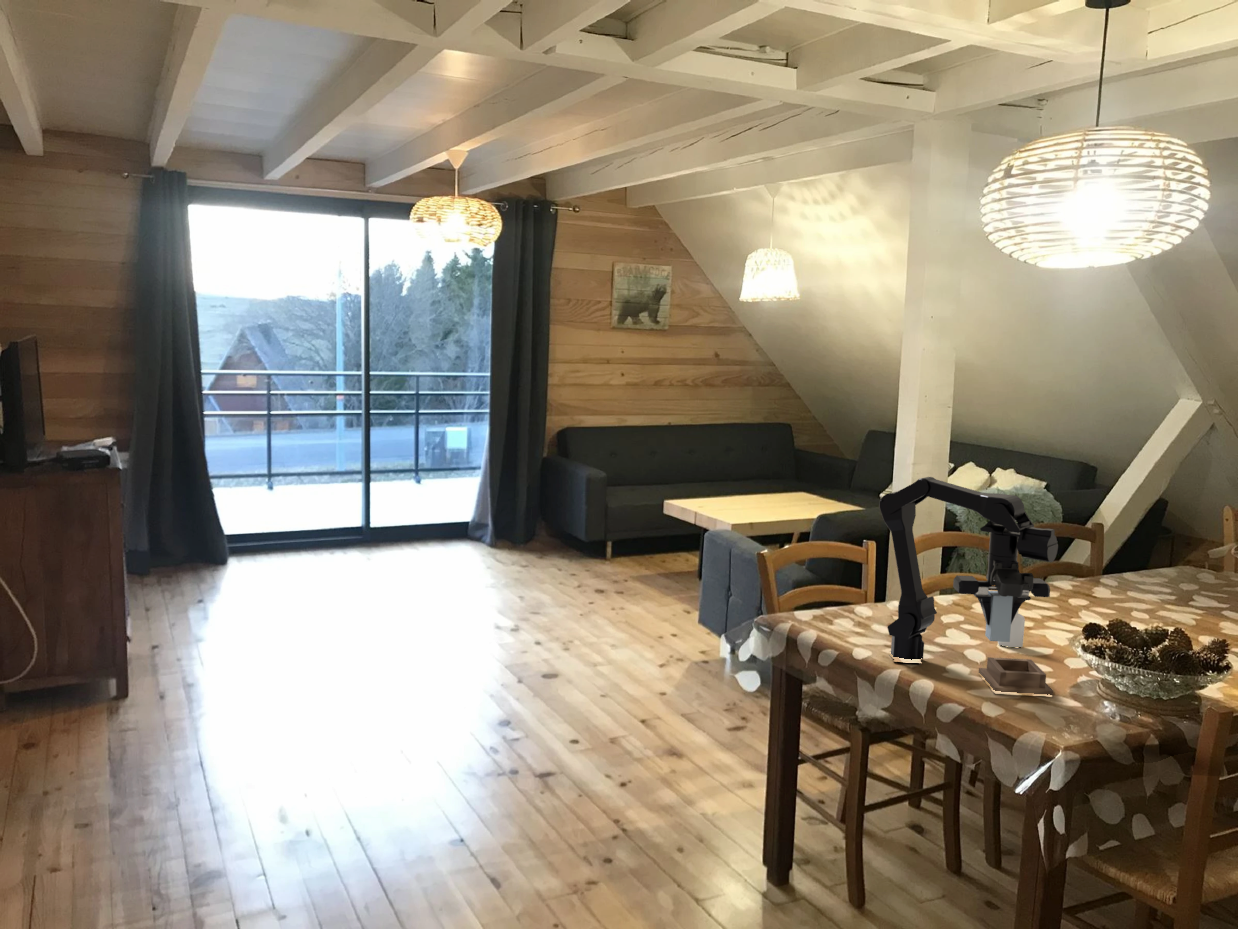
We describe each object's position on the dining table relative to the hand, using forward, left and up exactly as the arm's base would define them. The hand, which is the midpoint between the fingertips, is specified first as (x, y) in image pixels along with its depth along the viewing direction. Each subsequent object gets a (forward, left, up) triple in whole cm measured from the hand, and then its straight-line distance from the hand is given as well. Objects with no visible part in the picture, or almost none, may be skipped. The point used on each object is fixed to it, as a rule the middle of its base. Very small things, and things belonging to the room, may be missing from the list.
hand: (998, 625), depth 209 cm
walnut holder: (+4, 0, -13) cm, 14 cm away
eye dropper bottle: (+12, +27, -14) cm, 33 cm away
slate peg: (0, 0, -3) cm, 3 cm away
